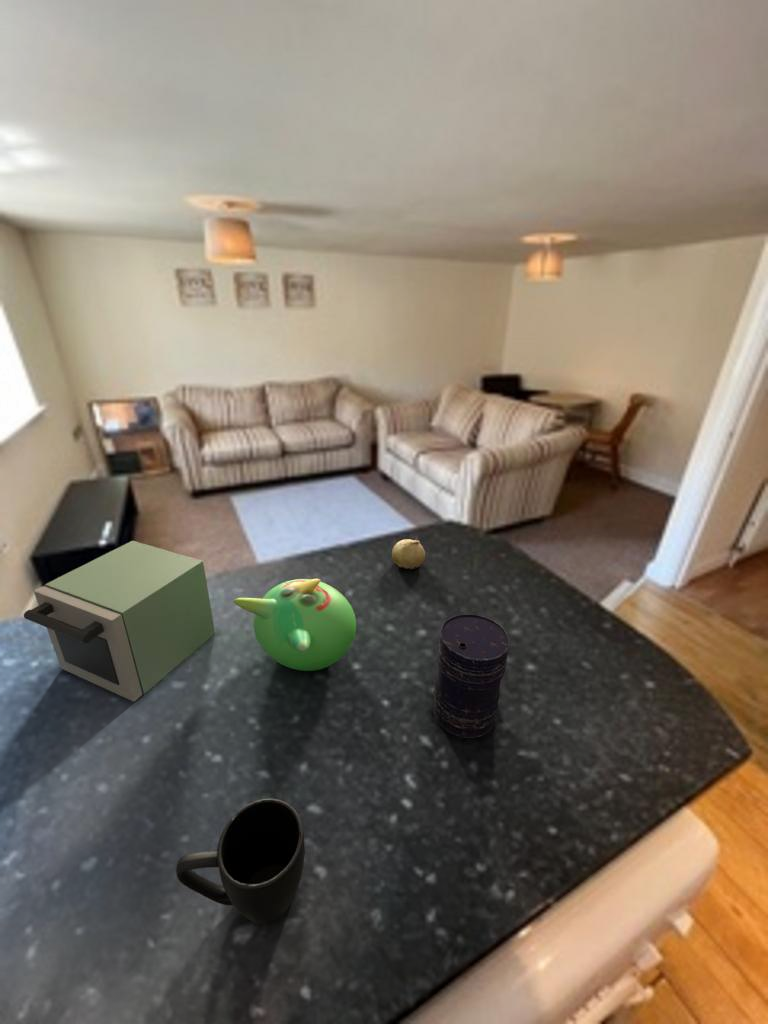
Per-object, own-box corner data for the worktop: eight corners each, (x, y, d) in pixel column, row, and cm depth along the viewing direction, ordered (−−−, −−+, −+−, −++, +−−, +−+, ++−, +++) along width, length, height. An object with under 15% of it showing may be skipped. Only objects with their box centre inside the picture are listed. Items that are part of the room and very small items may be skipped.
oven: (144, 694, 71) (122, 612, 64) (71, 662, 77) (44, 584, 70) (215, 633, 85) (203, 560, 78) (149, 609, 90) (132, 540, 84)
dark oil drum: (458, 677, 76) (467, 605, 70) (508, 711, 70) (523, 636, 64) (419, 709, 70) (425, 634, 64) (471, 751, 64) (483, 672, 57)
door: (115, 717, 67) (90, 634, 60) (41, 681, 73) (10, 602, 66) (142, 694, 71) (121, 614, 64) (70, 662, 77) (44, 585, 70)
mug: (197, 864, 50) (183, 811, 46) (306, 843, 52) (302, 791, 48) (182, 960, 43) (164, 907, 39) (309, 932, 45) (304, 879, 41)
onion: (406, 577, 104) (408, 550, 101) (384, 563, 109) (385, 537, 106) (431, 566, 109) (433, 540, 106) (408, 553, 114) (410, 528, 111)
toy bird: (373, 648, 82) (374, 581, 76) (310, 711, 69) (306, 636, 63) (300, 613, 91) (296, 550, 85) (233, 662, 78) (222, 592, 72)
